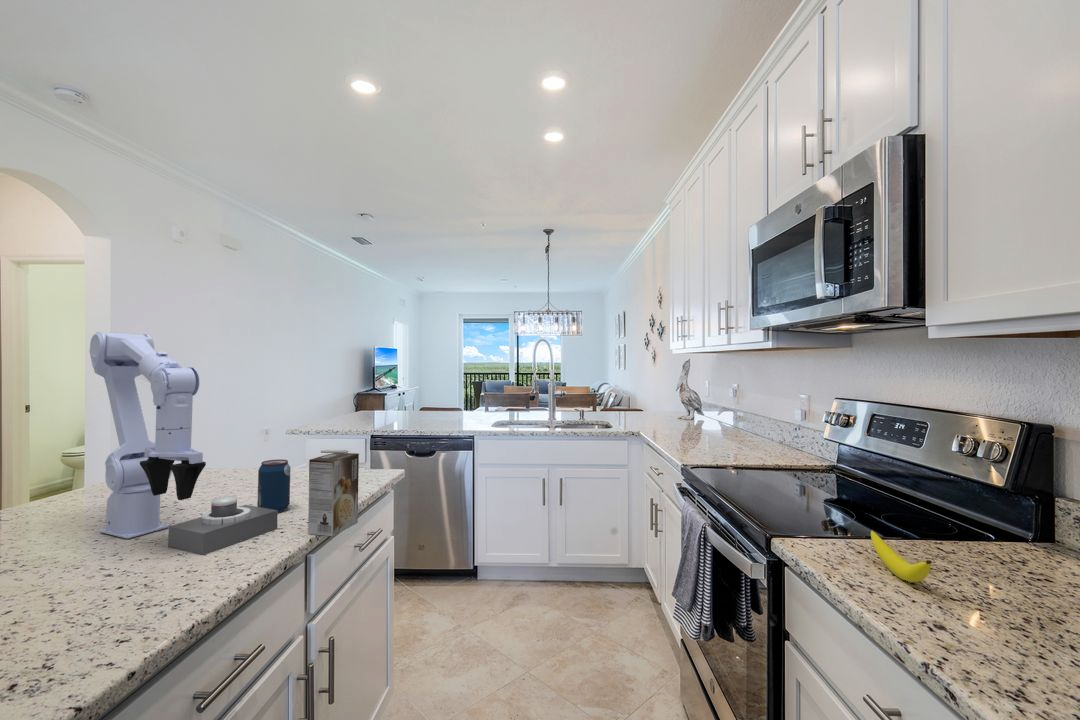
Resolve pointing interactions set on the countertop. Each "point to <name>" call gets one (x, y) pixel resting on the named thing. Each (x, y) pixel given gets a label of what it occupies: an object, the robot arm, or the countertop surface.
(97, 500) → the countertop surface
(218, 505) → the lens
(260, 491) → the soda can
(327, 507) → the cardboard rectangular box
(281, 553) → the countertop surface
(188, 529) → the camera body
